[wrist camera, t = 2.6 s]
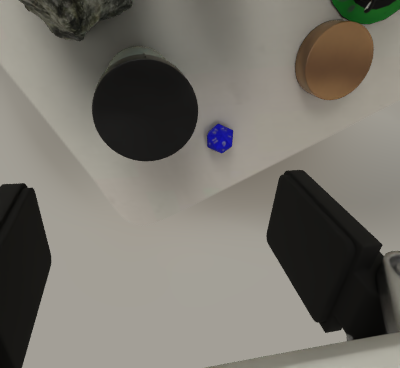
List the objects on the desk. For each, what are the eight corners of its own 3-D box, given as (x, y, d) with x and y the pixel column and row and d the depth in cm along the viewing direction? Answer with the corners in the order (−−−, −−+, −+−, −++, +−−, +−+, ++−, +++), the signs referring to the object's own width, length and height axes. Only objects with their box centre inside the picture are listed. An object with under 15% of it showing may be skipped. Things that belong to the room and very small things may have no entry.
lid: (88, 50, 18) (85, 55, 17) (195, 54, 20) (201, 59, 18) (100, 151, 22) (98, 163, 20) (190, 148, 23) (195, 159, 21)
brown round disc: (304, 17, 27) (316, 18, 25) (369, 22, 28) (384, 23, 27) (288, 94, 30) (297, 99, 29) (347, 95, 32) (359, 100, 30)
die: (199, 142, 31) (202, 135, 28) (215, 124, 31) (220, 115, 28) (219, 160, 31) (224, 154, 28) (235, 142, 31) (242, 134, 28)
